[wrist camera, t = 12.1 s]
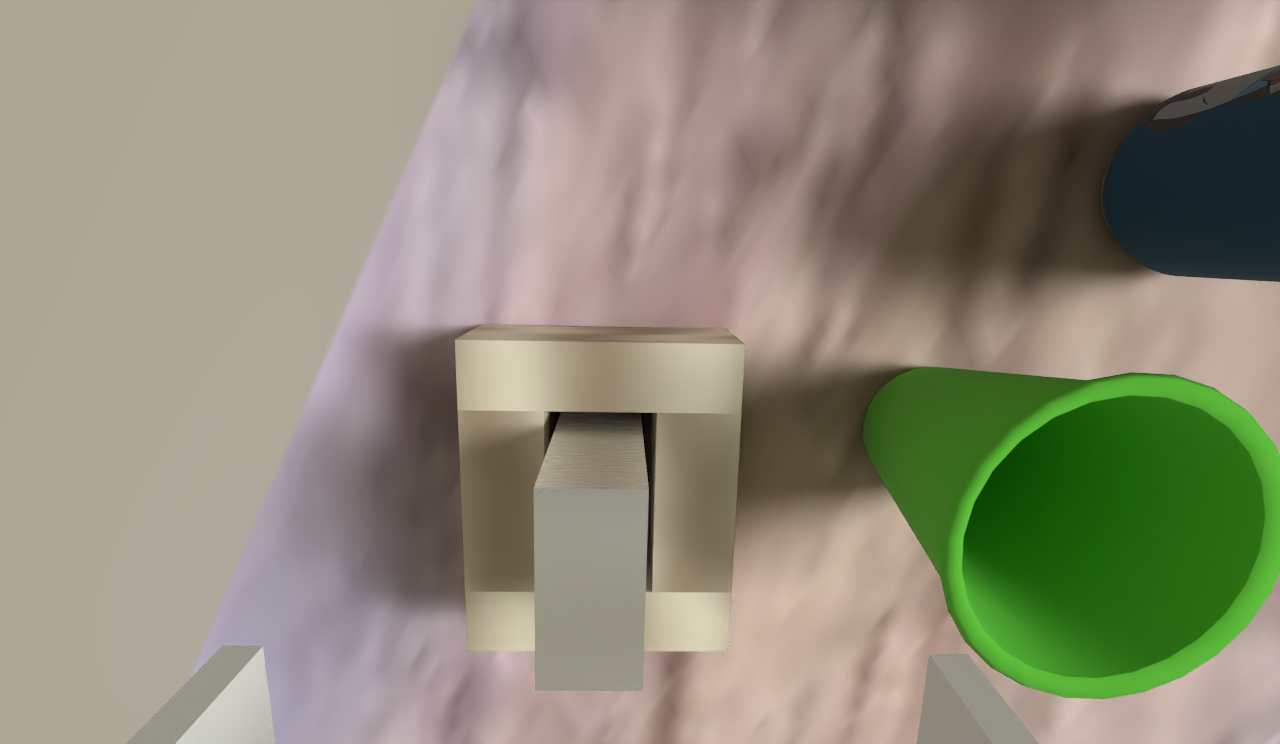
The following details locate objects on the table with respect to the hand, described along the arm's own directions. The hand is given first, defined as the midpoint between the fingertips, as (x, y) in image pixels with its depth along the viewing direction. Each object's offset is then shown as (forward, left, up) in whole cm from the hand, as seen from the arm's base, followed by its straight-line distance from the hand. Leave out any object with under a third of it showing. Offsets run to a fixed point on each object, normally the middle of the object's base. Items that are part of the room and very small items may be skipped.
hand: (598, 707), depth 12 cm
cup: (-13, -2, -15) cm, 20 cm away
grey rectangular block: (0, 0, -15) cm, 15 cm away
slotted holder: (0, 0, -15) cm, 15 cm away
